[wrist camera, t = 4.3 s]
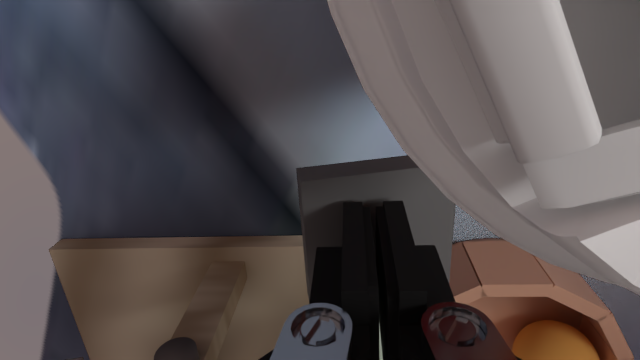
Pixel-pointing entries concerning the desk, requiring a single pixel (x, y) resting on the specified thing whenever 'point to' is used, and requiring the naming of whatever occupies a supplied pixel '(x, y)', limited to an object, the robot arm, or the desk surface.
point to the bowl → (530, 294)
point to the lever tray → (371, 205)
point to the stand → (182, 294)
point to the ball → (552, 342)
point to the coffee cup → (516, 116)
